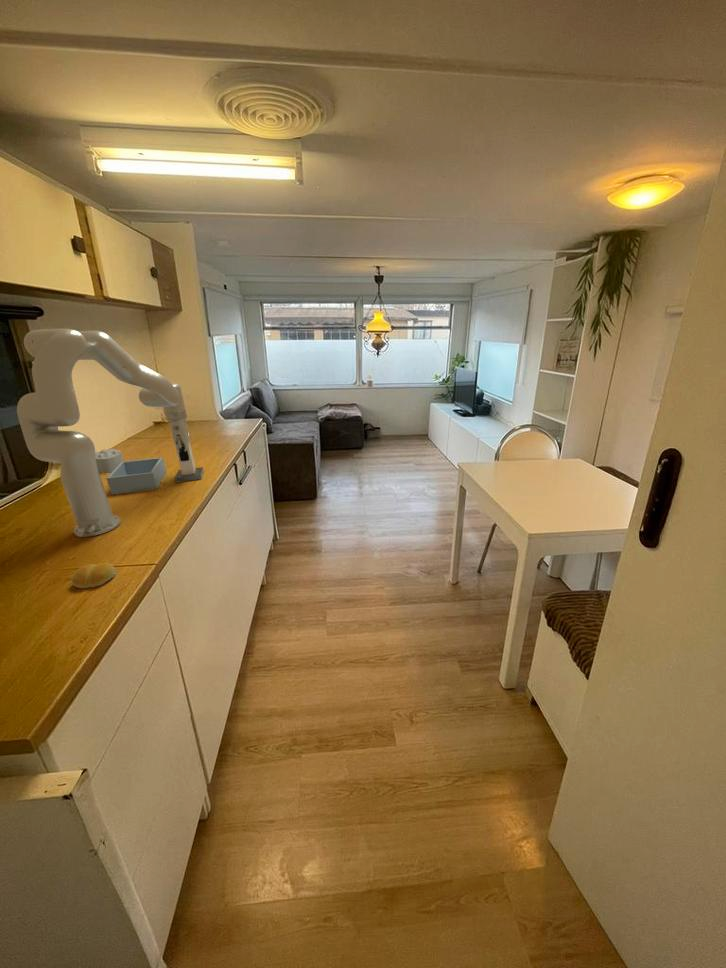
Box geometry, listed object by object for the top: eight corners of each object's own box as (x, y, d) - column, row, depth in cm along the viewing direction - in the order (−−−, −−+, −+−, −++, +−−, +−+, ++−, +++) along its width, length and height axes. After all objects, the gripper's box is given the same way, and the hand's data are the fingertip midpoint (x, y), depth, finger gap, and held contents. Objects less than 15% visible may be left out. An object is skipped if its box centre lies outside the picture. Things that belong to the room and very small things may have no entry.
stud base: (201, 479, 157) (198, 463, 154) (175, 482, 154) (171, 466, 151) (203, 471, 165) (200, 456, 163) (179, 474, 163) (175, 459, 160)
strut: (194, 473, 157) (187, 441, 152) (182, 475, 156) (174, 442, 151) (195, 469, 162) (189, 438, 156) (183, 471, 161) (176, 439, 155)
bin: (157, 489, 148) (152, 472, 145) (111, 495, 144) (106, 478, 141) (166, 472, 166) (162, 457, 163) (126, 477, 162) (121, 461, 159)
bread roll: (108, 586, 92) (103, 573, 91) (68, 591, 91) (62, 578, 89) (122, 567, 100) (117, 554, 98) (85, 571, 98) (80, 559, 97)
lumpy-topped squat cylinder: (126, 463, 180) (121, 445, 176) (122, 471, 169) (116, 453, 165) (100, 466, 176) (95, 449, 172) (95, 475, 165) (89, 457, 161)
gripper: (183, 419, 143) (193, 464, 150) (189, 410, 158) (197, 451, 165) (161, 421, 141) (172, 466, 148) (169, 412, 156) (179, 453, 163)
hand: (186, 458), depth 157 cm, fingers closed on strut, 4 cm apart
